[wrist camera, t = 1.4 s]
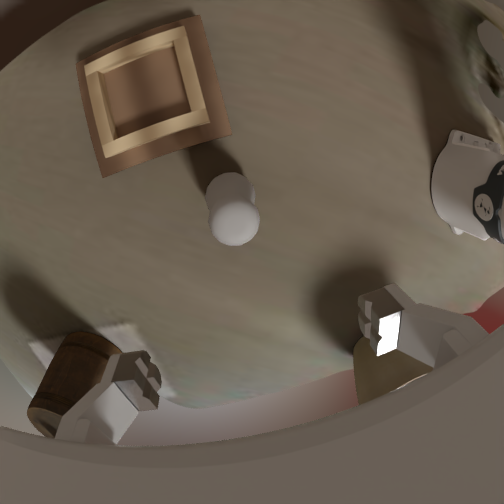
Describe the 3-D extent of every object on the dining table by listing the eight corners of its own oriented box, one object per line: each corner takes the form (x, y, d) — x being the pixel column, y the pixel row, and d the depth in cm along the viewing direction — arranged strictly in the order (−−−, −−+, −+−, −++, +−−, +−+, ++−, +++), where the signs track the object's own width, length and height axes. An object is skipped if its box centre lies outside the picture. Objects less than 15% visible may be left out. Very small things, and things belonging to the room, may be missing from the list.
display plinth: (201, 23, 24) (198, 7, 20) (231, 134, 31) (233, 134, 26) (85, 67, 24) (68, 60, 20) (111, 174, 31) (96, 180, 26)
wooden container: (50, 339, 40) (4, 424, 20) (100, 322, 40) (53, 430, 20) (93, 389, 46) (68, 473, 26) (146, 379, 46) (128, 481, 26)
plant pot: (386, 299, 44) (436, 358, 29) (408, 338, 49) (447, 390, 35) (319, 350, 46) (349, 420, 32) (353, 380, 52) (380, 437, 37)
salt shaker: (201, 176, 33) (189, 199, 21) (246, 164, 33) (261, 180, 21) (213, 220, 35) (210, 264, 23) (257, 209, 35) (276, 247, 23)
